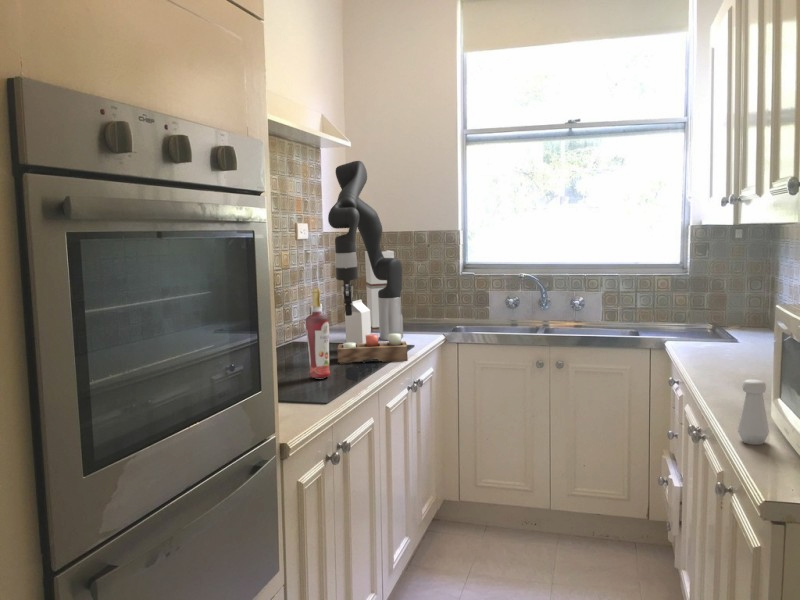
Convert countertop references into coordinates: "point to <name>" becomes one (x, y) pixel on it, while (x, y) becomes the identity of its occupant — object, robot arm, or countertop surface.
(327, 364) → the liquor
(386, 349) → the wooden ball rack
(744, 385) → the salt shaker
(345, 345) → the pale green sphere
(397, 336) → the cream white sphere
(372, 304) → the white notched tower
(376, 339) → the red ball
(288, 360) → the countertop surface
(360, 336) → the milk carton
